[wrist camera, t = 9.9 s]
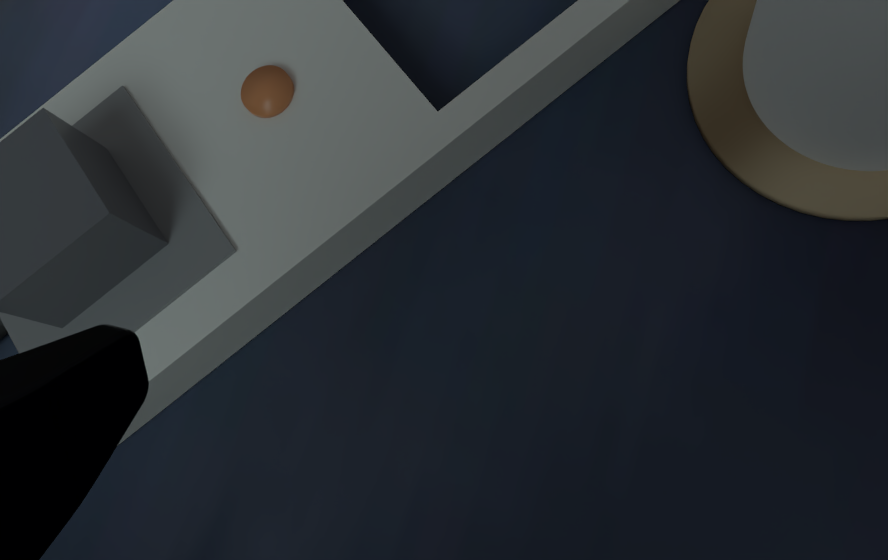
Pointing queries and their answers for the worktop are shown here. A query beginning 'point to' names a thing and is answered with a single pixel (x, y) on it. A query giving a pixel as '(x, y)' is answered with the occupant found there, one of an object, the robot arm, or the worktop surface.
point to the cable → (2, 330)
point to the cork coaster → (765, 129)
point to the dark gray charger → (65, 222)
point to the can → (822, 78)
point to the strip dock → (284, 158)
